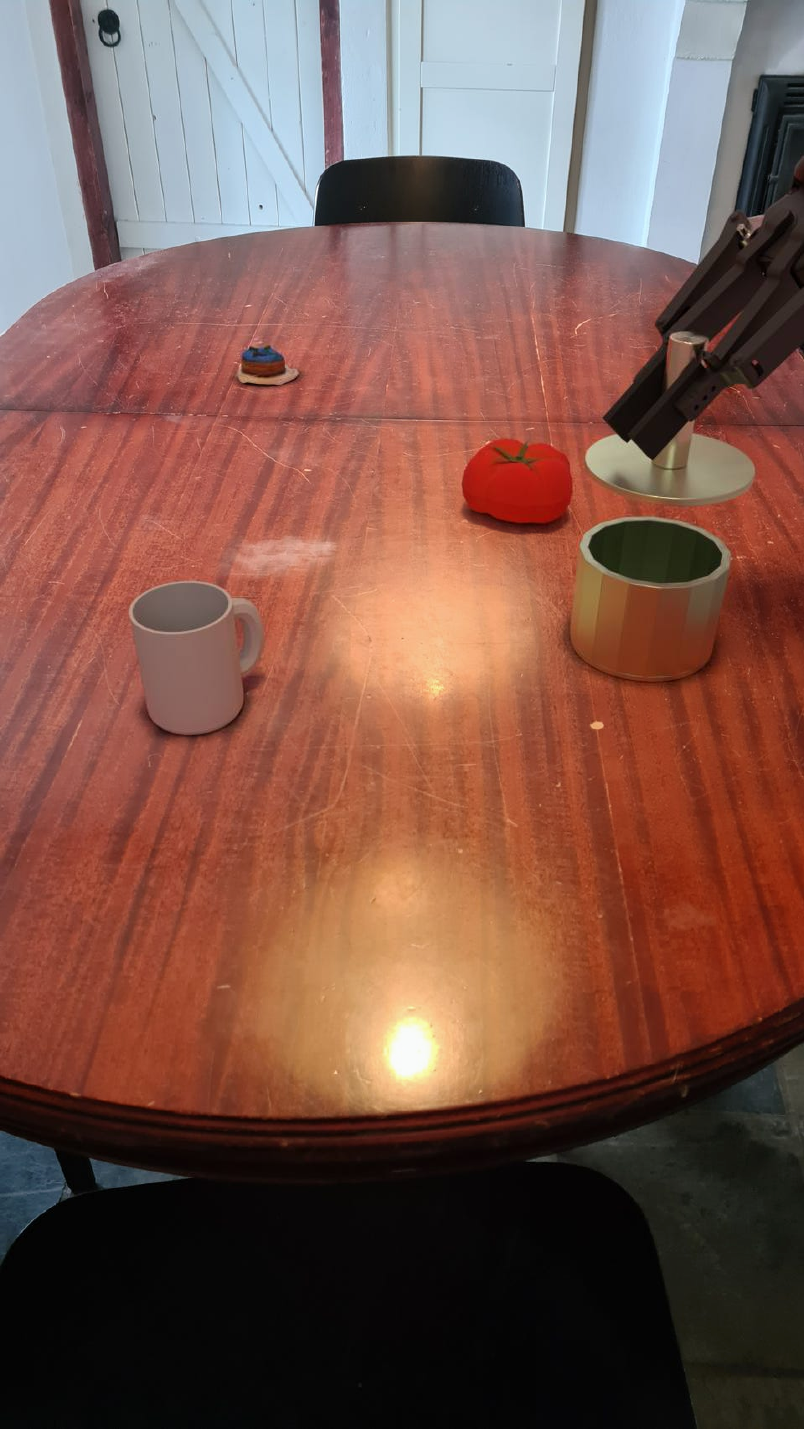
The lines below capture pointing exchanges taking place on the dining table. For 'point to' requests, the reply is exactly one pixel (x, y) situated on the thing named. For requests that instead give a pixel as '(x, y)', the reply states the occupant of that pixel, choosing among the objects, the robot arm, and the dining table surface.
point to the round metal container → (648, 597)
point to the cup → (194, 654)
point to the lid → (673, 454)
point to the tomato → (518, 481)
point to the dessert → (264, 367)
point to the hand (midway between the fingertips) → (627, 438)
